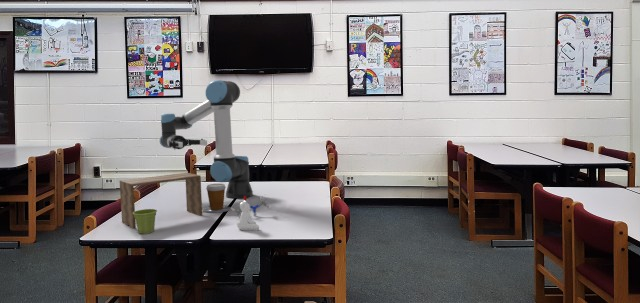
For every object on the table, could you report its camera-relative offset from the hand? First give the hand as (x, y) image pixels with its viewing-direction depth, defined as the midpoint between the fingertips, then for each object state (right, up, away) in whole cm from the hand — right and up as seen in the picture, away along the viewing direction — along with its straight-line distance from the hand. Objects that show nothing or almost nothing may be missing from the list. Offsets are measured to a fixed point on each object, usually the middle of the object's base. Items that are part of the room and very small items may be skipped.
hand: (194, 144), depth 238 cm
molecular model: (+33, -34, -24) cm, 53 cm away
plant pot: (-7, -37, -48) cm, 61 cm away
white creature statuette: (+35, -36, -46) cm, 68 cm away
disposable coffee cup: (+13, -33, -8) cm, 36 cm away
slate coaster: (+14, -33, -9) cm, 36 cm away
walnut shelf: (-7, -35, -26) cm, 44 cm away
